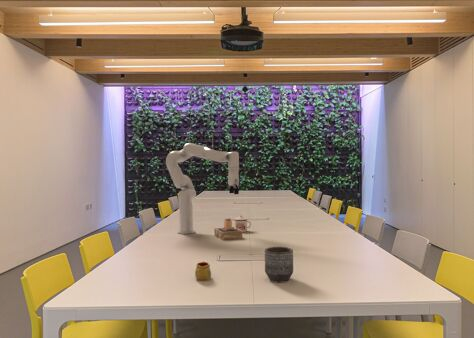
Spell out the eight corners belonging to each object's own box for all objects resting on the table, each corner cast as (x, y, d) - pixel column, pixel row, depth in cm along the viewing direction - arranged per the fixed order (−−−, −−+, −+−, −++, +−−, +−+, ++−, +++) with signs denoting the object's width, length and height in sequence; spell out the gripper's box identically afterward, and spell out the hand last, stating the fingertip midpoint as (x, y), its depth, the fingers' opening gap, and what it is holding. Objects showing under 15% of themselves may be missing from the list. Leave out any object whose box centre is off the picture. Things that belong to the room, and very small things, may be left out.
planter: (276, 273, 178) (276, 245, 177) (299, 278, 169) (298, 249, 169) (259, 279, 169) (258, 250, 169) (281, 285, 160) (281, 254, 160)
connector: (224, 235, 267) (224, 218, 267) (229, 234, 268) (229, 218, 268) (226, 236, 263) (226, 219, 263) (231, 235, 265) (231, 219, 264)
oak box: (214, 235, 271) (214, 227, 271) (233, 234, 276) (233, 226, 276) (222, 240, 255) (222, 231, 255) (242, 238, 260) (242, 230, 260)
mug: (209, 281, 168) (209, 265, 168) (193, 281, 168) (193, 265, 168) (213, 273, 180) (213, 258, 180) (198, 273, 180) (198, 258, 180)
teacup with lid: (234, 232, 283) (234, 216, 282) (235, 230, 292) (235, 214, 291) (251, 232, 281) (250, 216, 281) (251, 230, 291) (251, 214, 290)
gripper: (224, 169, 283) (225, 193, 283) (232, 169, 267) (233, 194, 267) (234, 169, 285) (234, 192, 286) (243, 169, 269) (243, 194, 269)
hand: (234, 193), depth 276 cm, fingers open, 9 cm apart
